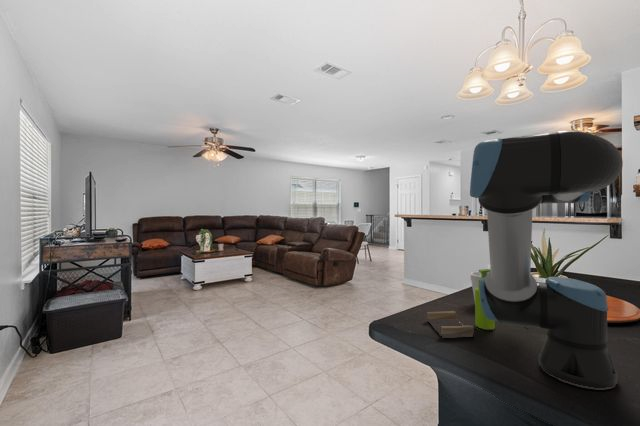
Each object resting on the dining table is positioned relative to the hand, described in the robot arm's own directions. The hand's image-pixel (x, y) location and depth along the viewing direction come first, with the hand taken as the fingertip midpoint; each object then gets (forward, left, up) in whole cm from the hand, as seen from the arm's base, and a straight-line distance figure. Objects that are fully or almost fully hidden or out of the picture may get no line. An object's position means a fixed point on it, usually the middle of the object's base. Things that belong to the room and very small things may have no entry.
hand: (512, 288), depth 105 cm
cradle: (0, +22, -13) cm, 26 cm away
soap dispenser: (0, +9, -13) cm, 16 cm away
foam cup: (+20, -1, -13) cm, 24 cm away
